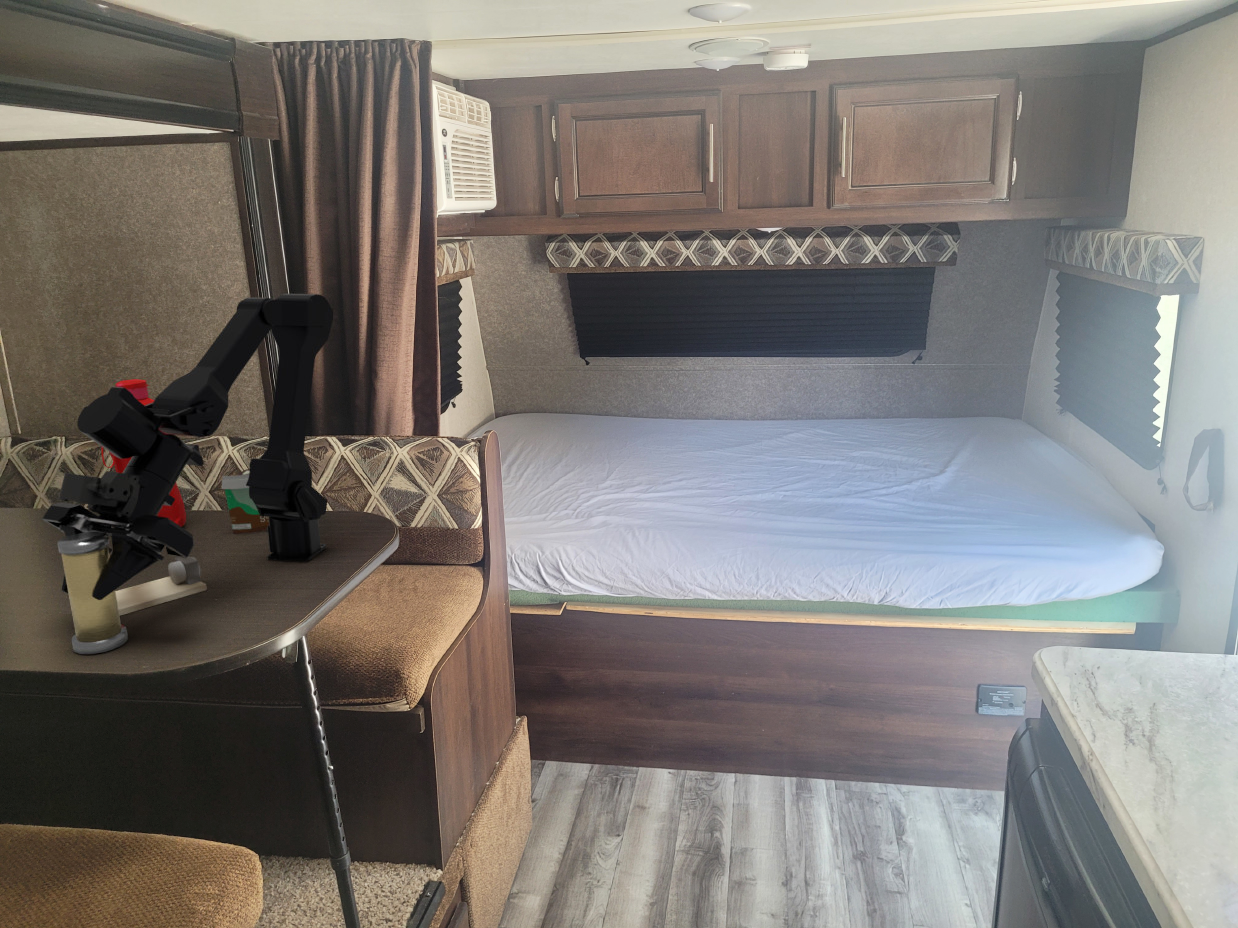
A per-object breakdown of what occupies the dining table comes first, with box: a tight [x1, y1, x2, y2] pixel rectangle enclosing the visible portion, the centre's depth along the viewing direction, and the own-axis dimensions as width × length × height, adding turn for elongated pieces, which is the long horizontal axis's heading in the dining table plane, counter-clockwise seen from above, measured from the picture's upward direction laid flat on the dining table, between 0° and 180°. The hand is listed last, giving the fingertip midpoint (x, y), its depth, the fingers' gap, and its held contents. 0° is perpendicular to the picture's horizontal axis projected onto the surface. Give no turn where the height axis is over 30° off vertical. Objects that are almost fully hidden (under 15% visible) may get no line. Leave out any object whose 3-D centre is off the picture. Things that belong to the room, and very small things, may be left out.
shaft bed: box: [115, 556, 208, 617], centre depth 116 cm, size 15×7×4 cm, turn 139°
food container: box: [221, 468, 269, 535], centre depth 146 cm, size 12×6×10 cm, turn 170°
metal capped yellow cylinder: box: [56, 532, 129, 655], centre depth 102 cm, size 6×6×13 cm
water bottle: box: [100, 378, 187, 528], centre depth 141 cm, size 9×11×25 cm
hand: (80, 595), depth 101 cm, fingers closed on metal capped yellow cylinder, 5 cm apart
